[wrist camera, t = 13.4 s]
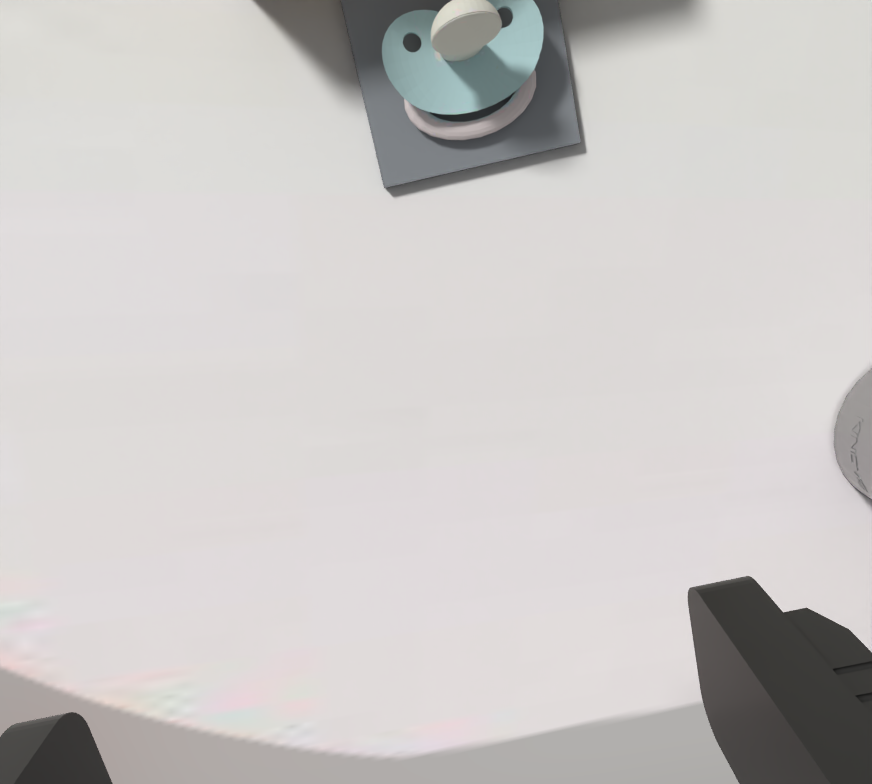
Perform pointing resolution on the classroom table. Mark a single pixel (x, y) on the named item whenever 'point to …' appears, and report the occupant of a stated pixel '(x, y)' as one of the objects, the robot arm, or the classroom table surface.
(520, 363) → the classroom table surface
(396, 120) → the pad
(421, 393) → the classroom table surface
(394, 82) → the pacifier
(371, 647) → the classroom table surface
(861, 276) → the classroom table surface
